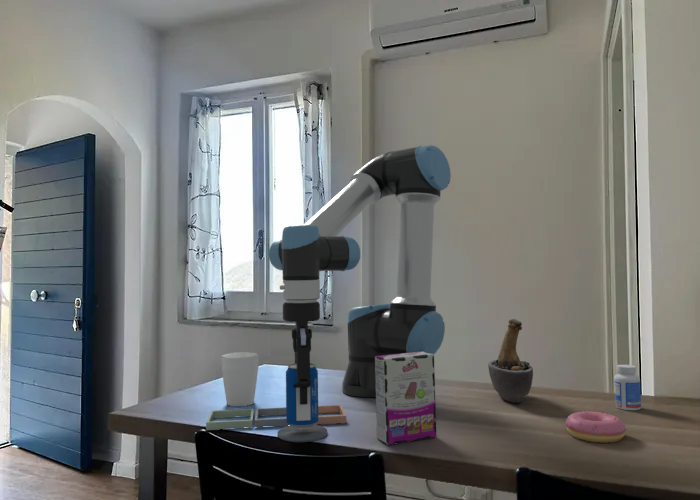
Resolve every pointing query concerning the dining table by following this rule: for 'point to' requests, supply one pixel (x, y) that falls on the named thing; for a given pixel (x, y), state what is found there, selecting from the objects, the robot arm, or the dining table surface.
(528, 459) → the dining table surface
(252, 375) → the grey tapered cylinder
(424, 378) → the candy bar box
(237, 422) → the sage corral
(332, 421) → the terracotta corral
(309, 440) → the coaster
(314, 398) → the beverage can
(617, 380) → the pill bottle
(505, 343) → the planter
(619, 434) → the doughnut
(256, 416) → the slate-grey corral
